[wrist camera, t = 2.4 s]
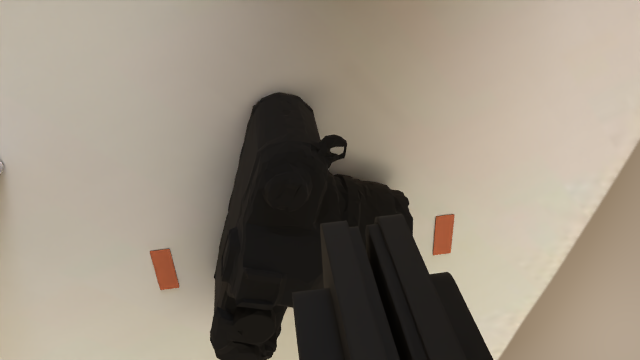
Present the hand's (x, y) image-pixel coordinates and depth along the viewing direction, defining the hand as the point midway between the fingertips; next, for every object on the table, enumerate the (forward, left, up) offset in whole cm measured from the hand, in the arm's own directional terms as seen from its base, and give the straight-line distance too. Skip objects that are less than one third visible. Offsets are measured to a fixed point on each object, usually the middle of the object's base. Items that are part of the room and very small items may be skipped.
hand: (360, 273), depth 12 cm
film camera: (+11, 0, -19) cm, 22 cm away
